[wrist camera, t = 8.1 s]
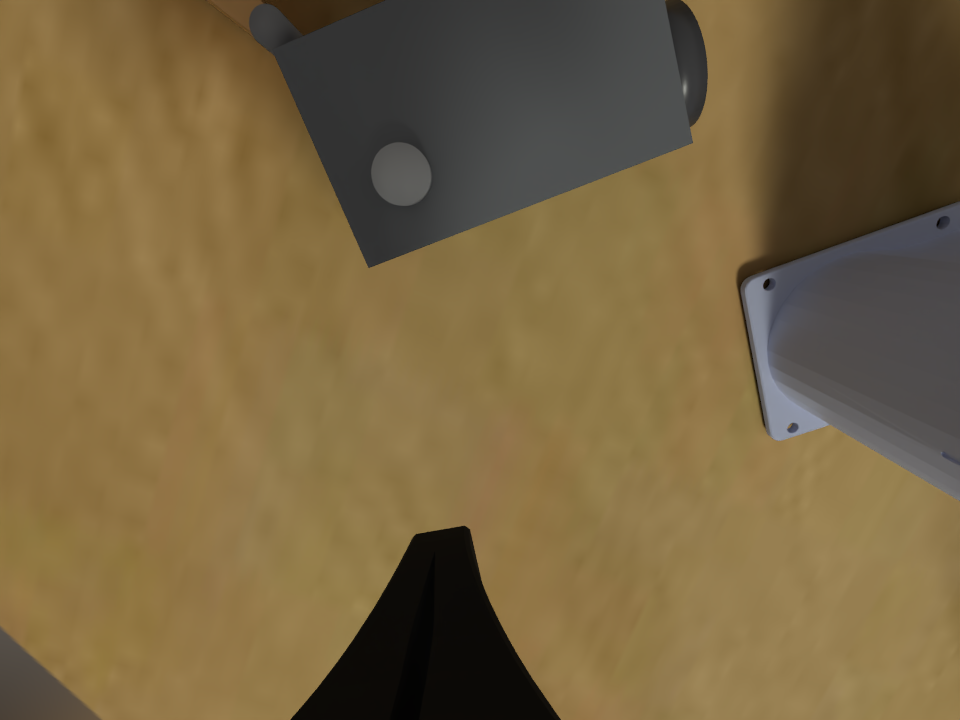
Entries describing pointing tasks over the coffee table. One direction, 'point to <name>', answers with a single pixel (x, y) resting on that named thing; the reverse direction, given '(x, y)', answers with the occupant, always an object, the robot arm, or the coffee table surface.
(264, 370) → the coffee table surface
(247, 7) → the side door
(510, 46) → the camera body
